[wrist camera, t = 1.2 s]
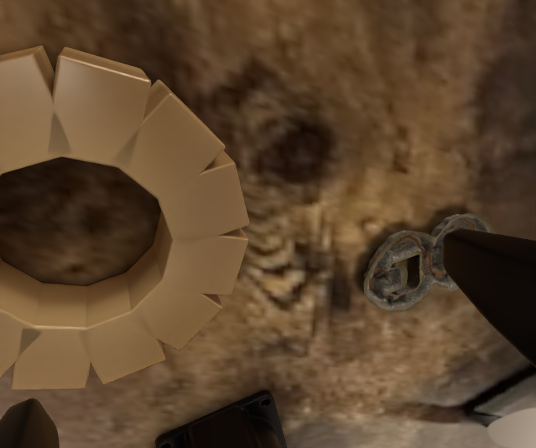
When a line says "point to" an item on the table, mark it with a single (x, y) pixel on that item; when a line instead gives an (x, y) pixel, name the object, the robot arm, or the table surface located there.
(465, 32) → the table surface
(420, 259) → the corroded twin loop
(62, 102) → the hoop
